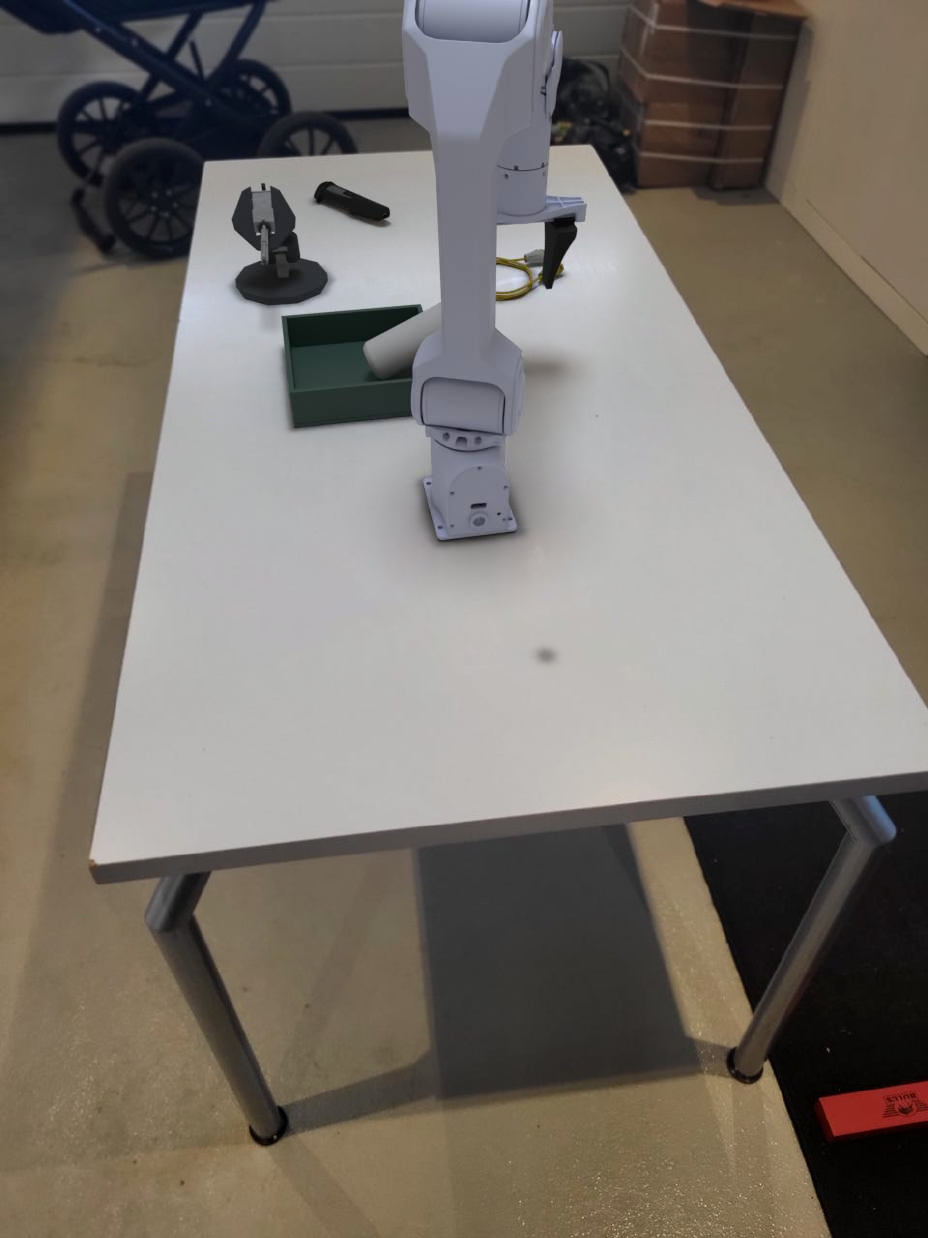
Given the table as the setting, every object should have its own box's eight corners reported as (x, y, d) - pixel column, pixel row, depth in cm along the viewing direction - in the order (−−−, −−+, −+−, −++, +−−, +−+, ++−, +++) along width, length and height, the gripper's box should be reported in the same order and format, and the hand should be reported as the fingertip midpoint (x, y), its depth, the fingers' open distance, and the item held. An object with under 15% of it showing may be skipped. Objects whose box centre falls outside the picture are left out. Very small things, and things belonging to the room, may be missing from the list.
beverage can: (384, 389, 104) (476, 343, 102) (367, 365, 100) (461, 315, 98) (375, 361, 107) (464, 314, 104) (357, 335, 102) (449, 286, 100)
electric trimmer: (378, 231, 135) (377, 210, 132) (312, 201, 142) (310, 180, 139) (396, 224, 137) (395, 203, 134) (330, 194, 144) (328, 174, 141)
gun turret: (234, 333, 113) (213, 232, 104) (237, 263, 127) (219, 168, 117) (332, 326, 115) (321, 226, 105) (325, 257, 128) (315, 163, 119)
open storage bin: (445, 411, 101) (444, 377, 98) (294, 427, 99) (289, 392, 96) (421, 336, 113) (420, 303, 110) (286, 349, 111) (281, 315, 107)
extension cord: (569, 299, 120) (571, 285, 119) (454, 301, 119) (454, 287, 118) (558, 258, 128) (559, 245, 127) (450, 260, 128) (450, 247, 126)
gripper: (578, 142, 94) (566, 266, 104) (444, 150, 92) (445, 276, 102) (597, 166, 89) (583, 294, 99) (456, 176, 87) (456, 305, 97)
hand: (514, 287), depth 100 cm, fingers open, 7 cm apart
